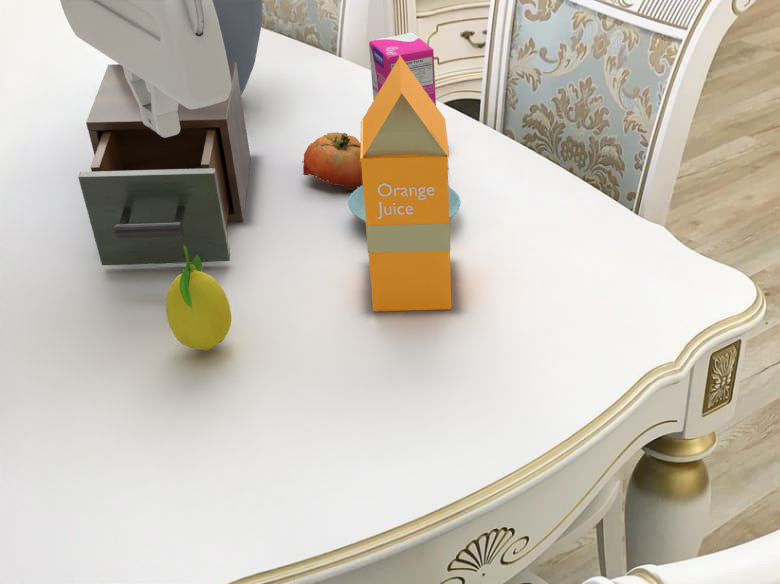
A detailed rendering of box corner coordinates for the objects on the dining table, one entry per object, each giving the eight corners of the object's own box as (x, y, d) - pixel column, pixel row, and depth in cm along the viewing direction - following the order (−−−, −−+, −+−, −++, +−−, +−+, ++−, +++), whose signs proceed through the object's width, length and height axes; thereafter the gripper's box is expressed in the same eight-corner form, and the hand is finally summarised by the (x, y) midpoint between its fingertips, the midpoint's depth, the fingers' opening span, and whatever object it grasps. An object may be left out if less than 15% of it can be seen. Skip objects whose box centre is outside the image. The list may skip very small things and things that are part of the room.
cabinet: (243, 221, 118) (226, 119, 110) (112, 225, 116) (86, 122, 109) (250, 159, 128) (236, 61, 121) (130, 162, 127) (108, 64, 119)
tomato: (329, 189, 120) (307, 122, 119) (304, 214, 125) (282, 150, 125) (391, 181, 124) (370, 116, 123) (363, 206, 130) (343, 144, 129)
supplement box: (374, 142, 132) (367, 38, 124) (419, 133, 134) (415, 31, 126) (393, 161, 129) (387, 55, 120) (439, 151, 131) (436, 47, 122)
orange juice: (371, 311, 106) (353, 92, 91) (371, 266, 112) (354, 53, 97) (453, 309, 106) (448, 91, 92) (449, 264, 112) (444, 52, 98)
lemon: (206, 378, 97) (184, 272, 90) (157, 358, 99) (131, 253, 92) (256, 343, 101) (239, 240, 94) (208, 325, 103) (187, 222, 96)
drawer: (226, 286, 107) (210, 196, 100) (94, 291, 105) (69, 201, 99) (238, 195, 120) (224, 112, 113) (121, 199, 119) (100, 114, 112)
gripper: (235, -46, 73) (266, 164, 83) (98, -111, 83) (141, 82, 93) (146, -29, 70) (190, 187, 80) (17, -98, 81) (70, 100, 91)
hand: (162, 130), depth 87 cm, fingers closed
